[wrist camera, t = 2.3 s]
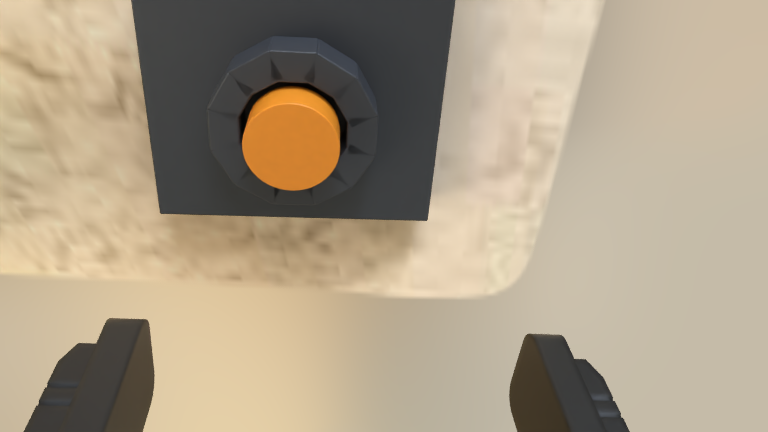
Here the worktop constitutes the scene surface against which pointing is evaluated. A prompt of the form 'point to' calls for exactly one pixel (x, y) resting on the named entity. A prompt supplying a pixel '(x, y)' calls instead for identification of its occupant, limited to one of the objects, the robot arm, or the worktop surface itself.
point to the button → (292, 138)
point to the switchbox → (304, 69)
